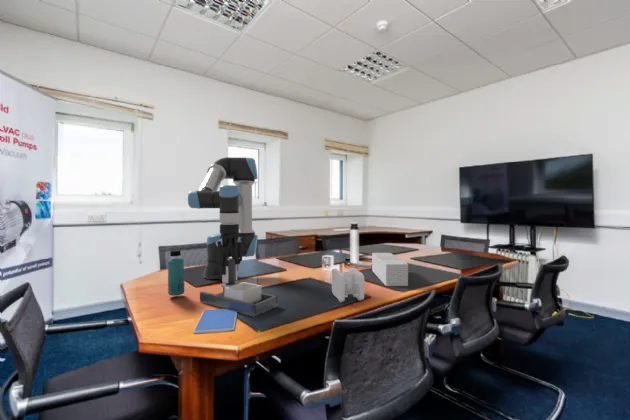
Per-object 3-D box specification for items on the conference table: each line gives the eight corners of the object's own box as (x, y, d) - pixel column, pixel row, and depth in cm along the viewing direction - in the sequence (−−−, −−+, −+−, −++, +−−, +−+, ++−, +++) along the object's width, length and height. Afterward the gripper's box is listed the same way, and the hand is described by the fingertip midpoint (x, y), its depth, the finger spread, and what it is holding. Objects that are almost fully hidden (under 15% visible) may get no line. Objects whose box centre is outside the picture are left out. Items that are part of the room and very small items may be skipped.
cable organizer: (330, 293, 135) (330, 267, 135) (353, 291, 138) (353, 266, 137) (340, 304, 121) (340, 275, 120) (365, 302, 123) (365, 274, 123)
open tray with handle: (236, 294, 129) (235, 256, 128) (261, 300, 121) (261, 260, 120) (216, 300, 120) (216, 260, 120) (242, 307, 112) (242, 265, 112)
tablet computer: (203, 312, 113) (203, 309, 113) (238, 310, 115) (238, 307, 115) (192, 335, 94) (192, 331, 94) (234, 332, 96) (234, 328, 96)
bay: (225, 293, 135) (225, 284, 134) (277, 306, 118) (277, 296, 118) (200, 301, 124) (200, 292, 124) (253, 317, 107) (253, 306, 107)
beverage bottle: (178, 299, 126) (177, 252, 125) (164, 298, 127) (163, 251, 127) (187, 295, 132) (187, 249, 132) (174, 294, 134) (173, 249, 133)
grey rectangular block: (372, 270, 178) (372, 252, 178) (390, 270, 179) (390, 252, 178) (386, 286, 146) (386, 264, 146) (407, 286, 147) (408, 264, 146)
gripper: (238, 222, 132) (239, 275, 132) (205, 224, 117) (206, 284, 118) (251, 222, 128) (251, 277, 128) (218, 225, 113) (219, 287, 114)
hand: (229, 280), depth 123 cm, fingers closed on open tray with handle, 4 cm apart
